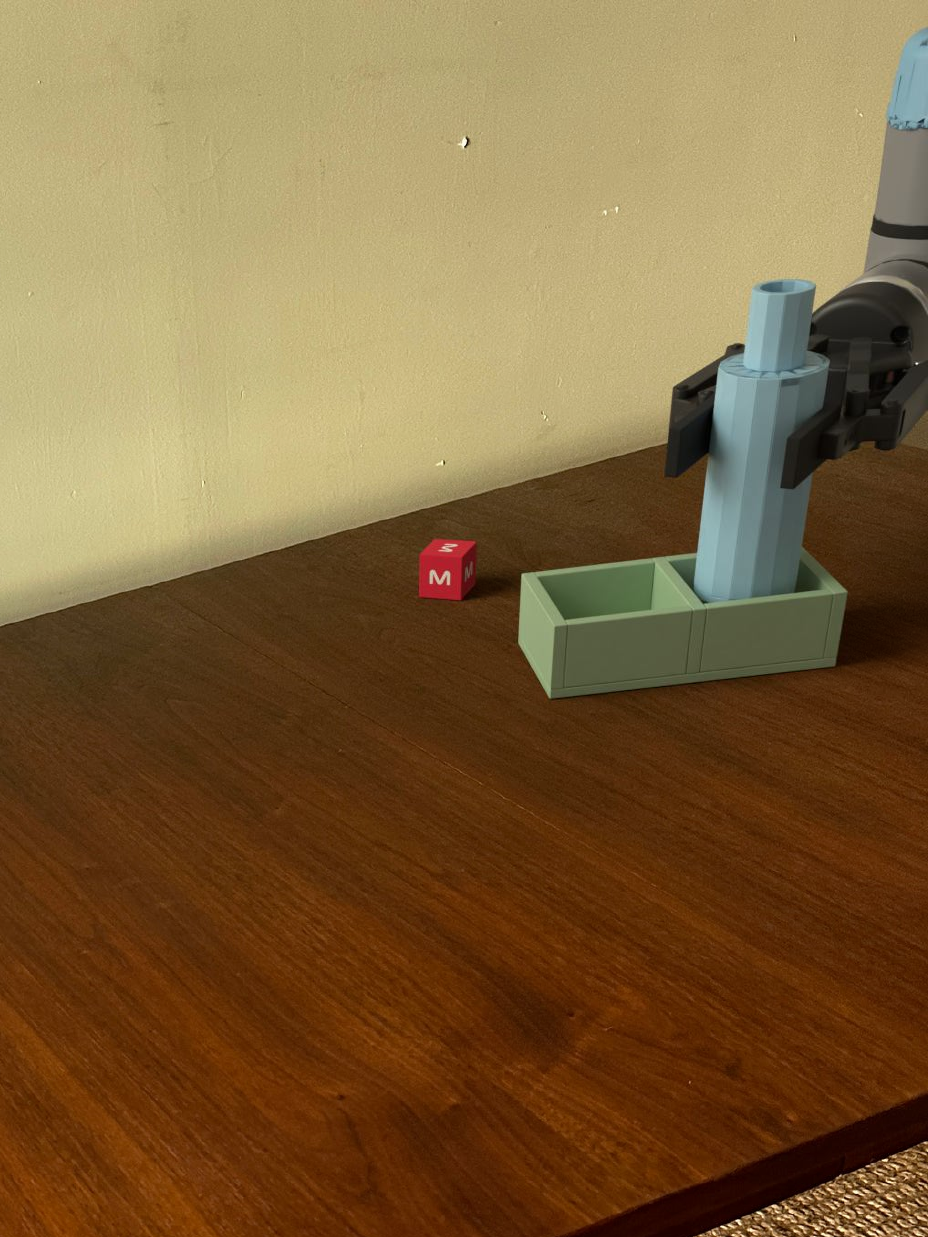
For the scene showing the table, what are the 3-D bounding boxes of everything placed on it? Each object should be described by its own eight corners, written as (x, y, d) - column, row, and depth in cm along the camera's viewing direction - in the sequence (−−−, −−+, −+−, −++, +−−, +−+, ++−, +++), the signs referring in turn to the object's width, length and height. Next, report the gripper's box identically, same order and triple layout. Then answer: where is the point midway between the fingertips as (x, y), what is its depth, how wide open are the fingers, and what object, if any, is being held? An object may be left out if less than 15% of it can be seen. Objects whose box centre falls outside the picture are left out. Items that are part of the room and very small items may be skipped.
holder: (785, 612, 113) (796, 540, 110) (835, 666, 106) (848, 591, 103) (517, 643, 114) (521, 573, 111) (549, 699, 107) (554, 626, 104)
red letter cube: (461, 600, 121) (462, 556, 119) (419, 597, 122) (419, 554, 120) (475, 584, 122) (477, 541, 121) (434, 581, 124) (434, 538, 122)
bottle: (776, 567, 109) (819, 267, 99) (808, 601, 105) (857, 291, 94) (681, 578, 110) (714, 281, 99) (709, 613, 105) (747, 305, 95)
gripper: (1017, 416, 109) (894, 544, 96) (715, 394, 119) (566, 508, 106) (1046, 284, 104) (921, 400, 91) (729, 273, 114) (575, 376, 101)
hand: (730, 458), depth 99 cm, fingers closed on bottle, 6 cm apart
